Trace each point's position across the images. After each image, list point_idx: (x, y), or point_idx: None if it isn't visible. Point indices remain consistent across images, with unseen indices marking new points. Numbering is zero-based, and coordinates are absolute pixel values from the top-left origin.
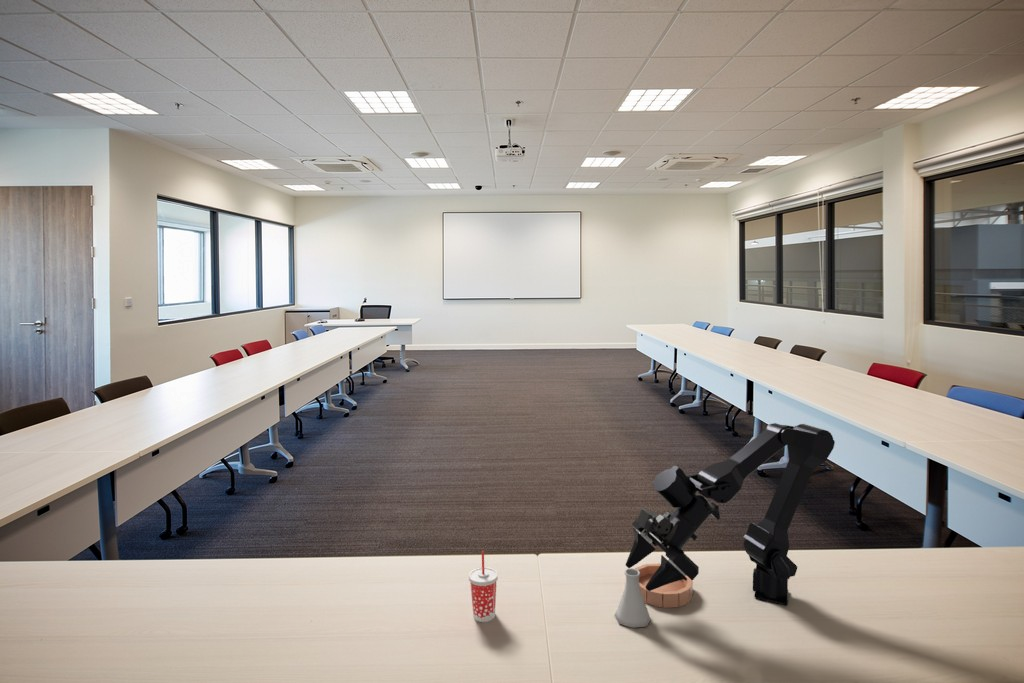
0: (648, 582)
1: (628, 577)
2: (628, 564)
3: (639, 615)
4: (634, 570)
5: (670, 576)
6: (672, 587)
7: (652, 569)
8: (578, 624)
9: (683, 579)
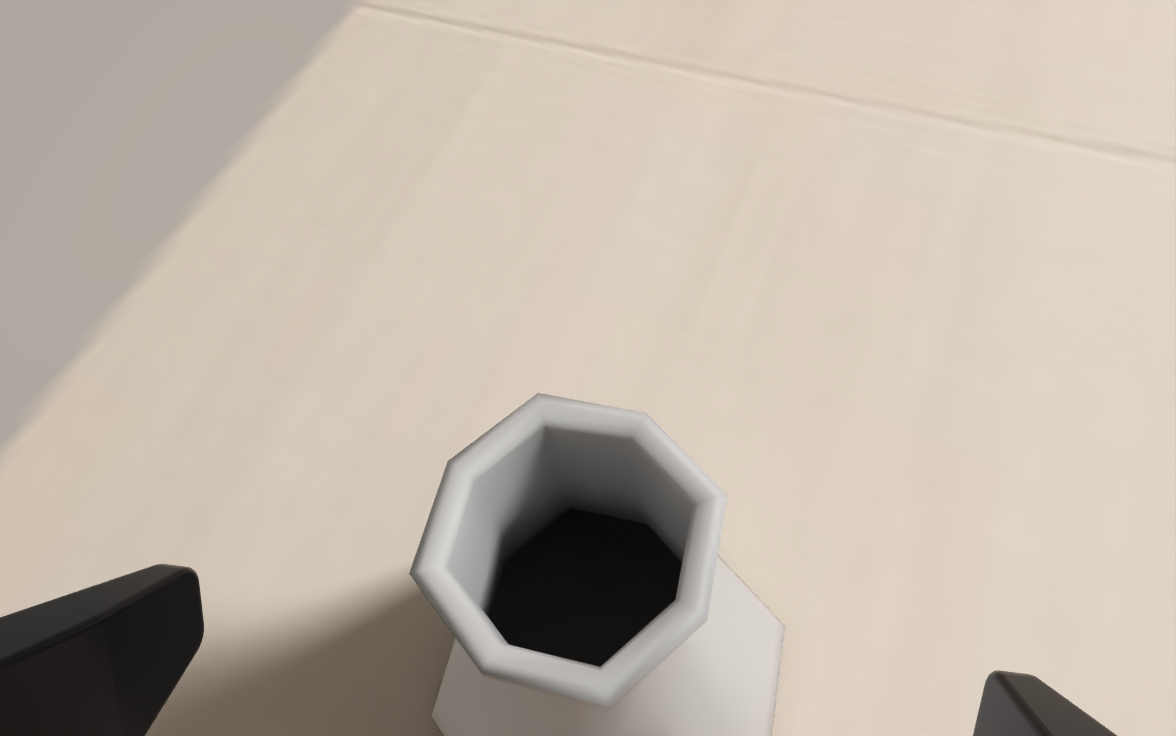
0: (111, 600)
1: (537, 450)
2: (1002, 724)
3: (458, 646)
4: (640, 632)
5: None
6: None
7: None
8: (687, 243)
9: None
